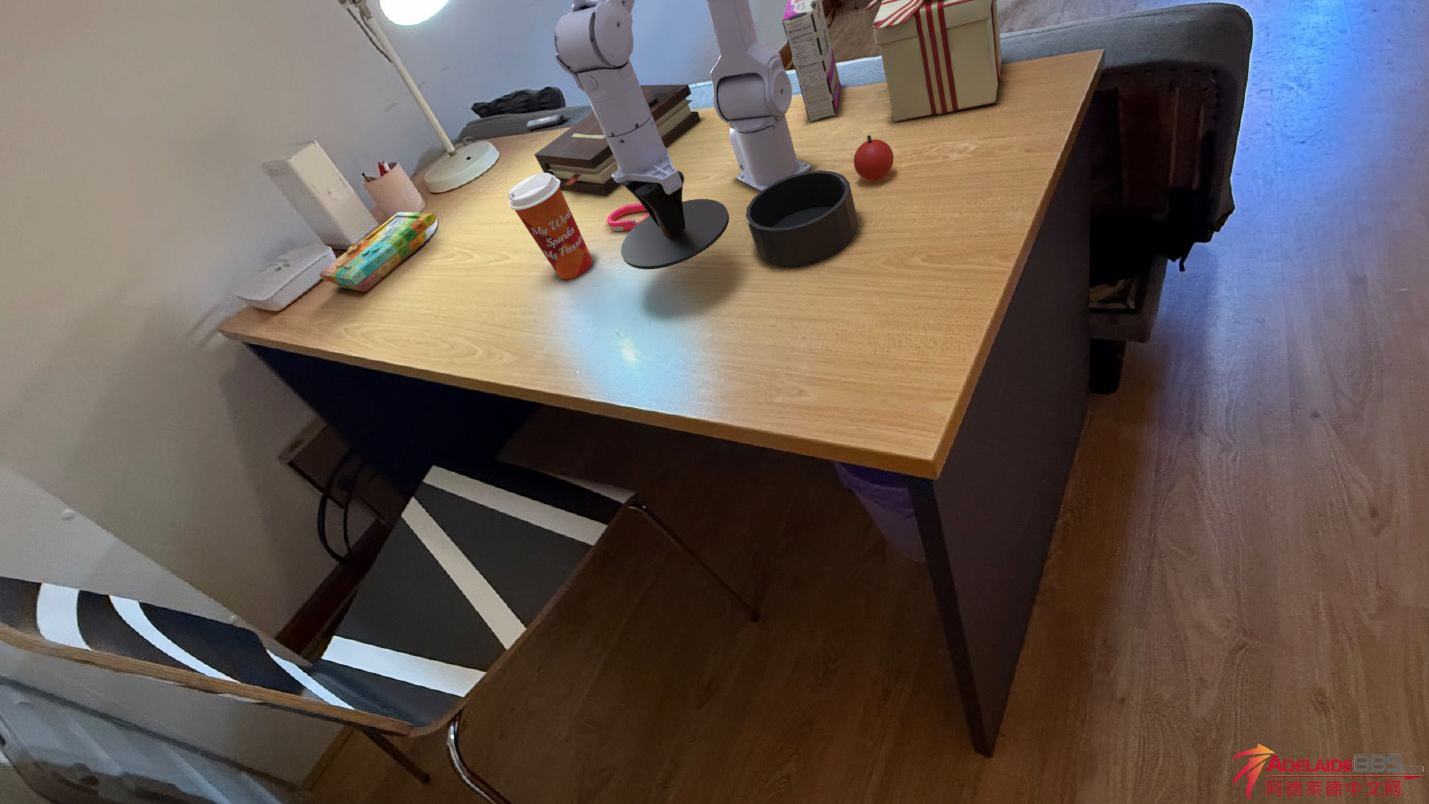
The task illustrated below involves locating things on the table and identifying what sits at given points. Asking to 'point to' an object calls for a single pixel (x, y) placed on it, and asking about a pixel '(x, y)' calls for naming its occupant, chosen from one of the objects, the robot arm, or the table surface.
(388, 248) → the puzzle game
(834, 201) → the pan
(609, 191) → the decorative book
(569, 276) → the paper cup
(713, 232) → the lid
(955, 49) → the gift box
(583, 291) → the table surface
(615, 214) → the fitness band
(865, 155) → the apple
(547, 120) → the usb stick
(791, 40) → the candy bar box
